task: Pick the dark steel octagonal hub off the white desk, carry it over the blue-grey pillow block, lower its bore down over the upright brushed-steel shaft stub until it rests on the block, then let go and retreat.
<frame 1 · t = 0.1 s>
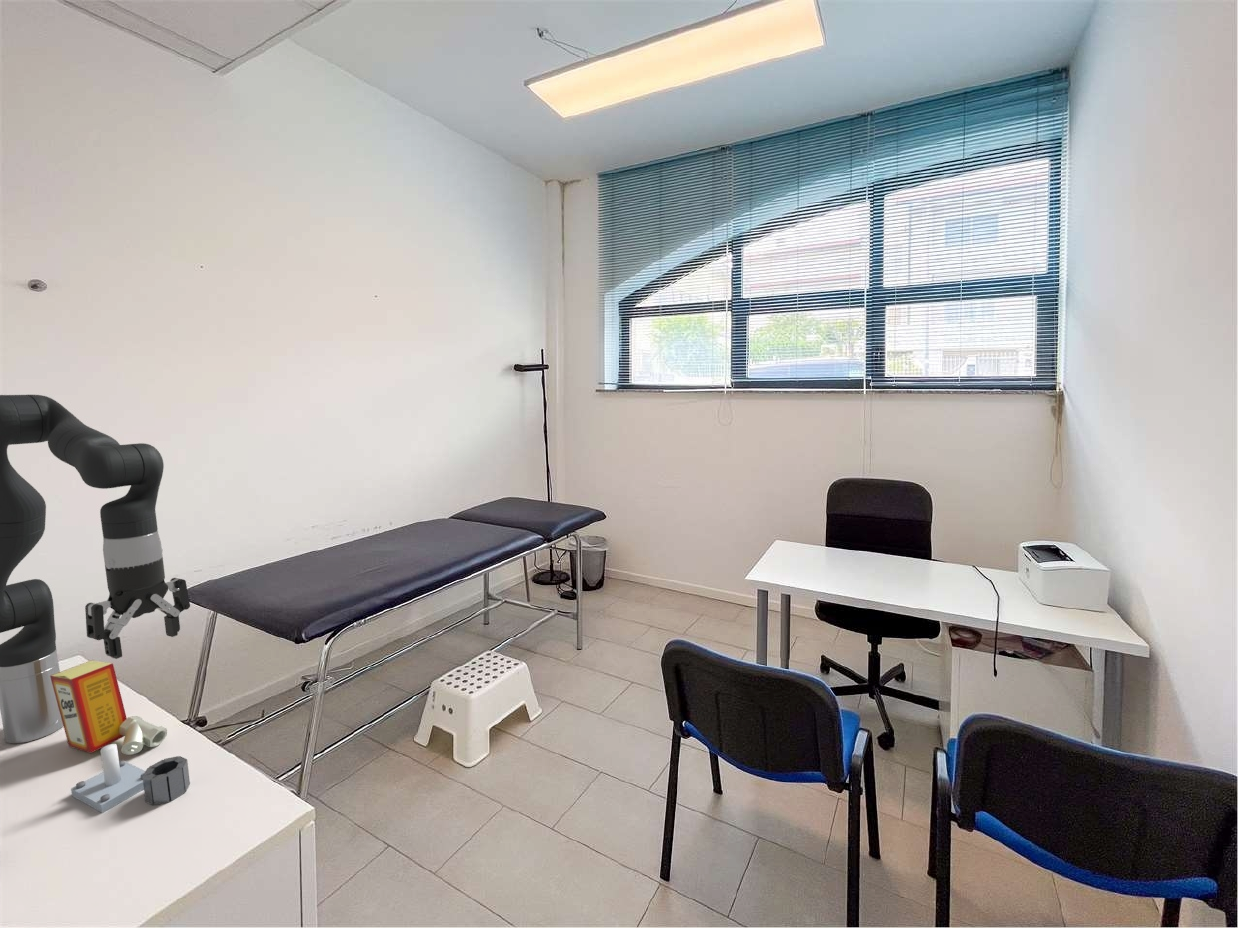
hand: (145, 645, 96), 29 cm above the table, fingers open, 8 cm apart
pipe fitting: (134, 744, 112), point 1 cm above the table, touching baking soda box
pillow block: (114, 788, 101), on the table
hub: (168, 791, 100), on the table
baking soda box: (100, 740, 113), point 1 cm above the table, touching pipe fitting
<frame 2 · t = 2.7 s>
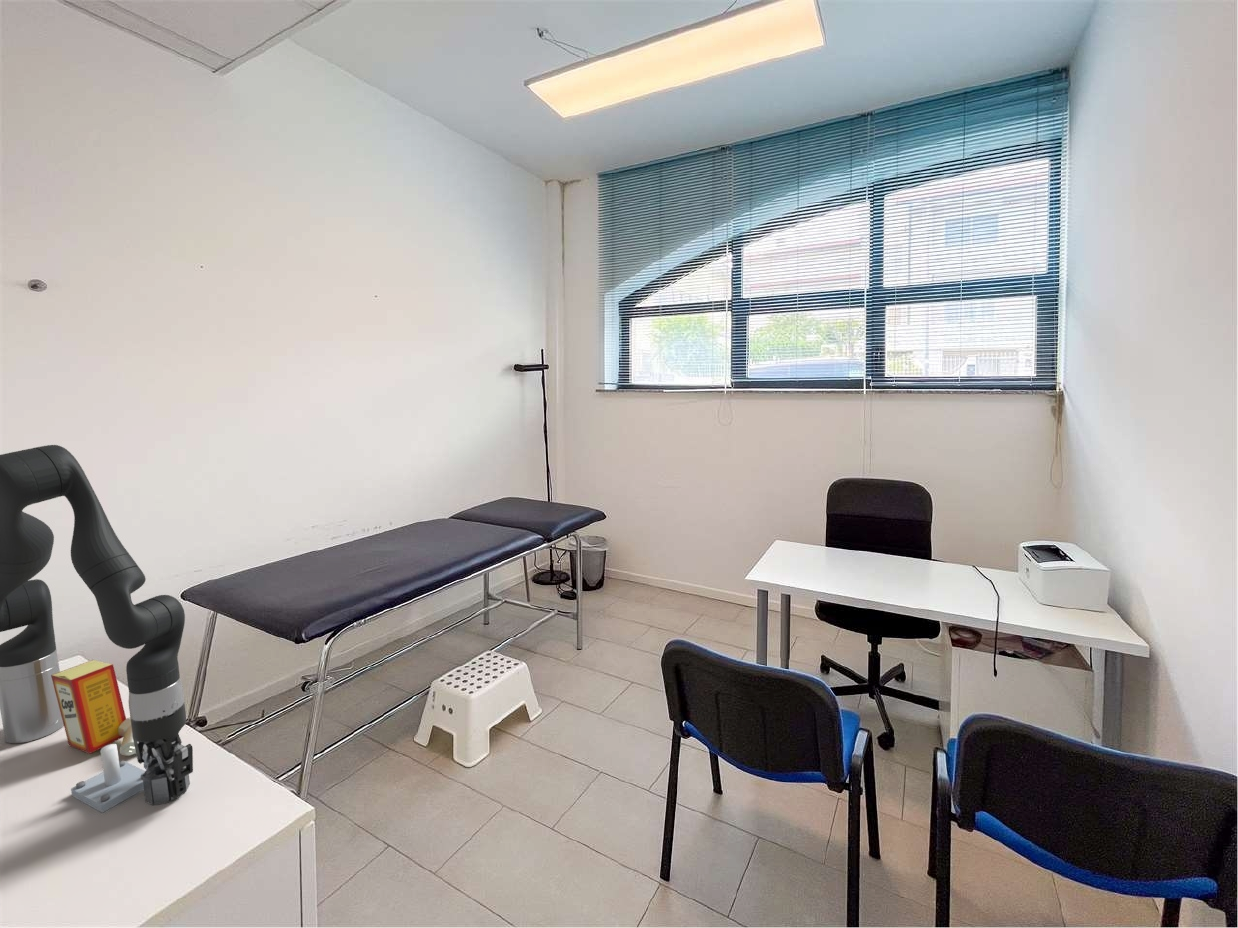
hand: (167, 789, 100), 1 cm above the table, fingers closed on hub, 6 cm apart
hub: (168, 791, 100), on the table, touching gripper
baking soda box: (99, 740, 113), point 1 cm above the table, touching pipe fitting
everything else where it was.
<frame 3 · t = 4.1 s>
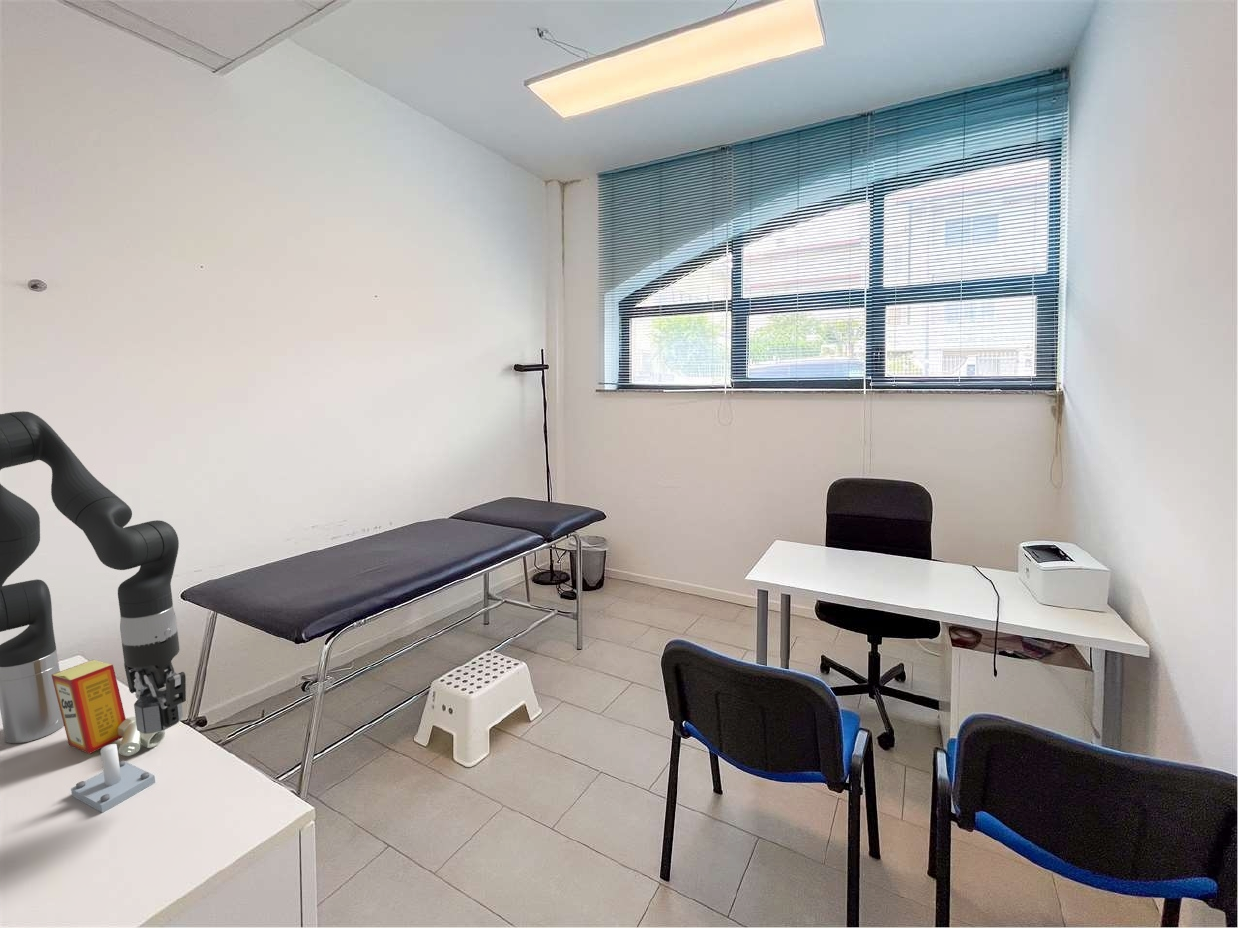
hand: (160, 719, 98), 15 cm above the table, fingers closed on hub, 6 cm apart
hub: (160, 722, 98), point 14 cm above the table, touching gripper
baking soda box: (99, 740, 113), point 1 cm above the table, touching pipe fitting
everything else where it was.
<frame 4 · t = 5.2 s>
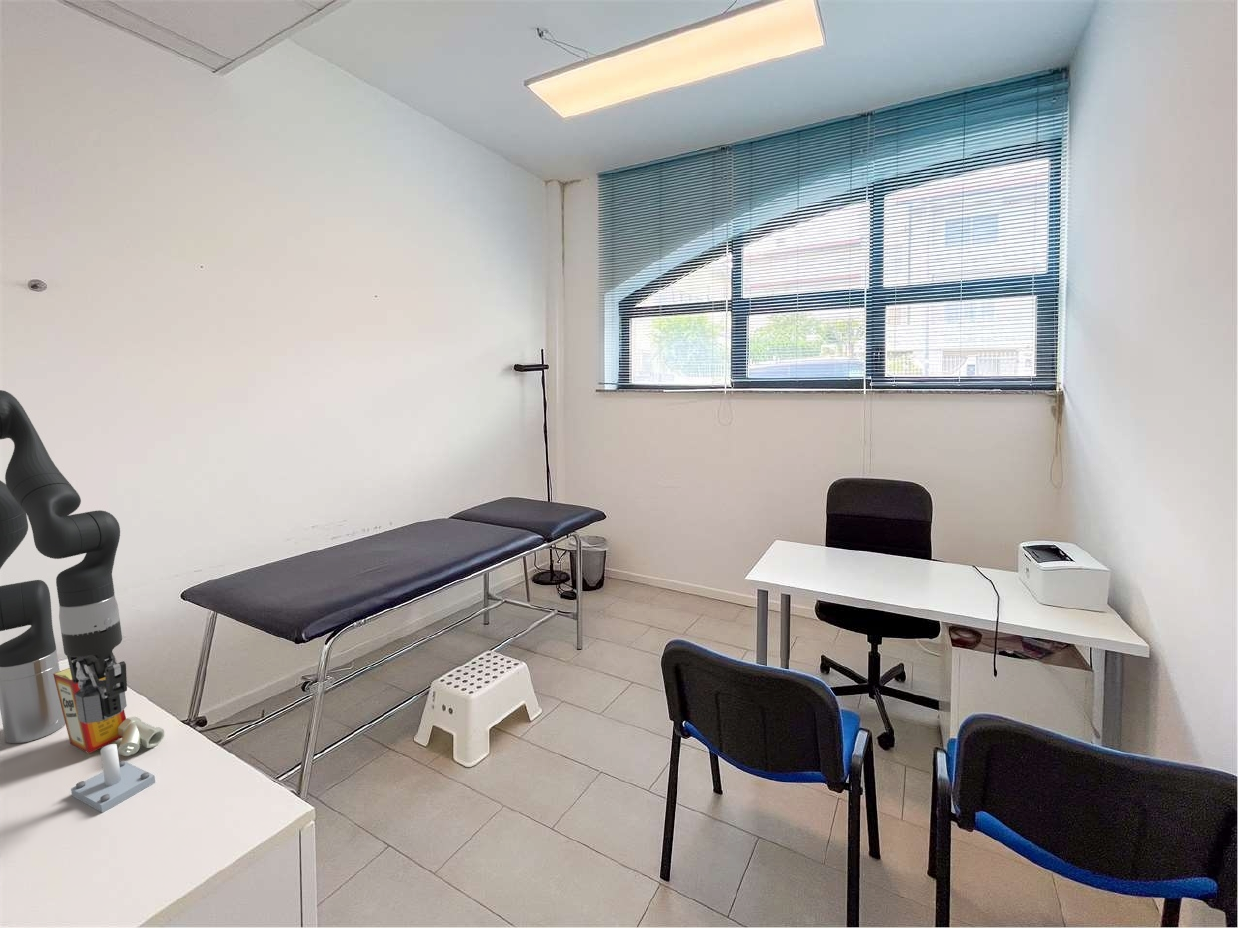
hand: (102, 709, 98), 16 cm above the table, fingers closed on hub, 6 cm apart
pipe fitting: (132, 745, 112), point 1 cm above the table, touching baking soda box
hub: (103, 712, 99), point 16 cm above the table, touching gripper
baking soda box: (100, 739, 114), on the table, touching pipe fitting
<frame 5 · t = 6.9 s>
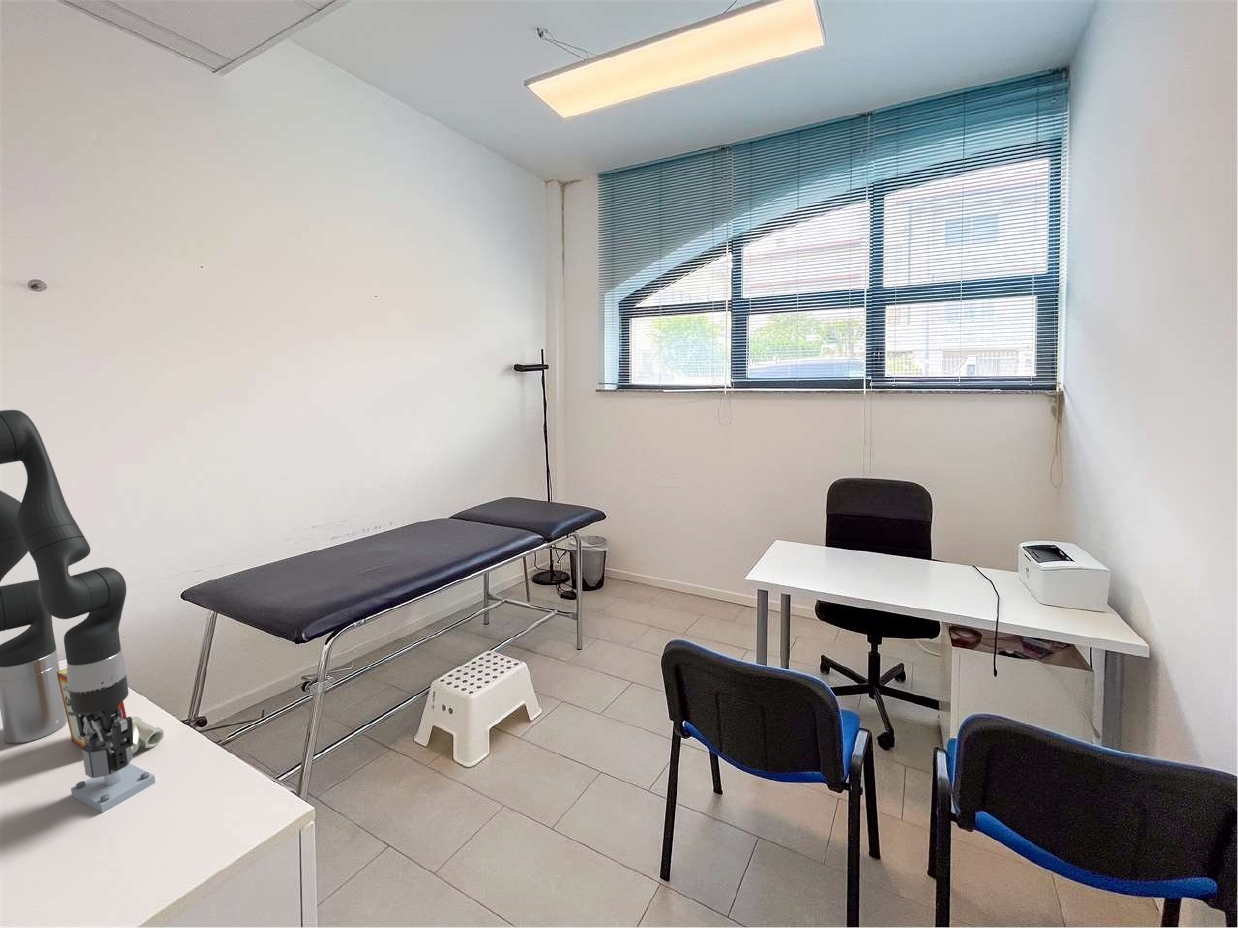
hand: (109, 762, 100), 6 cm above the table, fingers closed on hub, 6 cm apart
pipe fitting: (132, 745, 112), point 1 cm above the table, touching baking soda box
hub: (109, 765, 100), point 5 cm above the table, touching gripper
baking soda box: (101, 738, 114), on the table, touching pipe fitting
when the fingers open (3 cm above the table, at t = 8.0 s): hub stays where it is, resting on pillow block.
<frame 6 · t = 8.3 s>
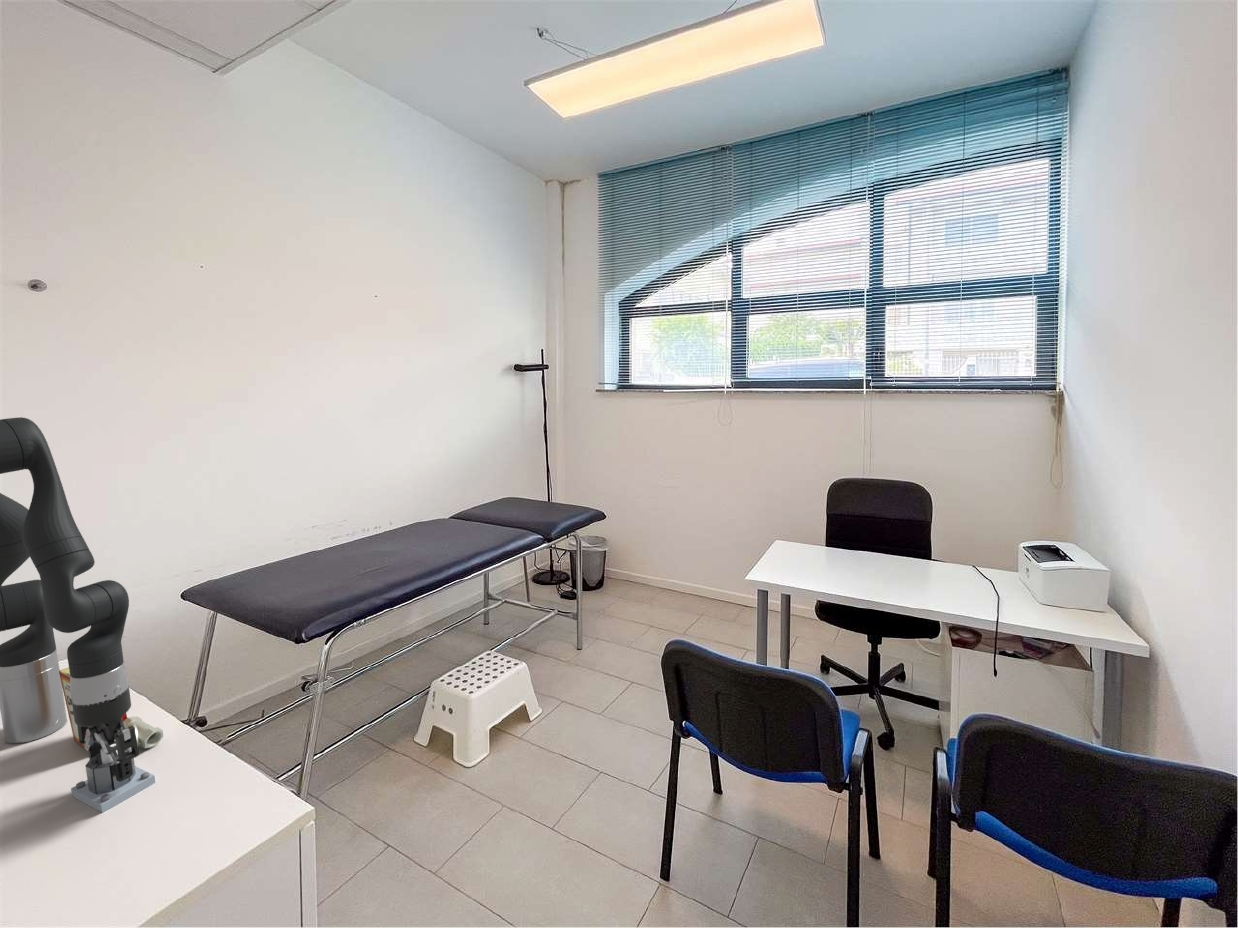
hand: (111, 771, 100), 4 cm above the table, fingers open, 8 cm apart
hub: (112, 781, 101), point 1 cm above the table, touching pillow block
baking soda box: (102, 737, 114), on the table, touching pipe fitting
everything else where it was.
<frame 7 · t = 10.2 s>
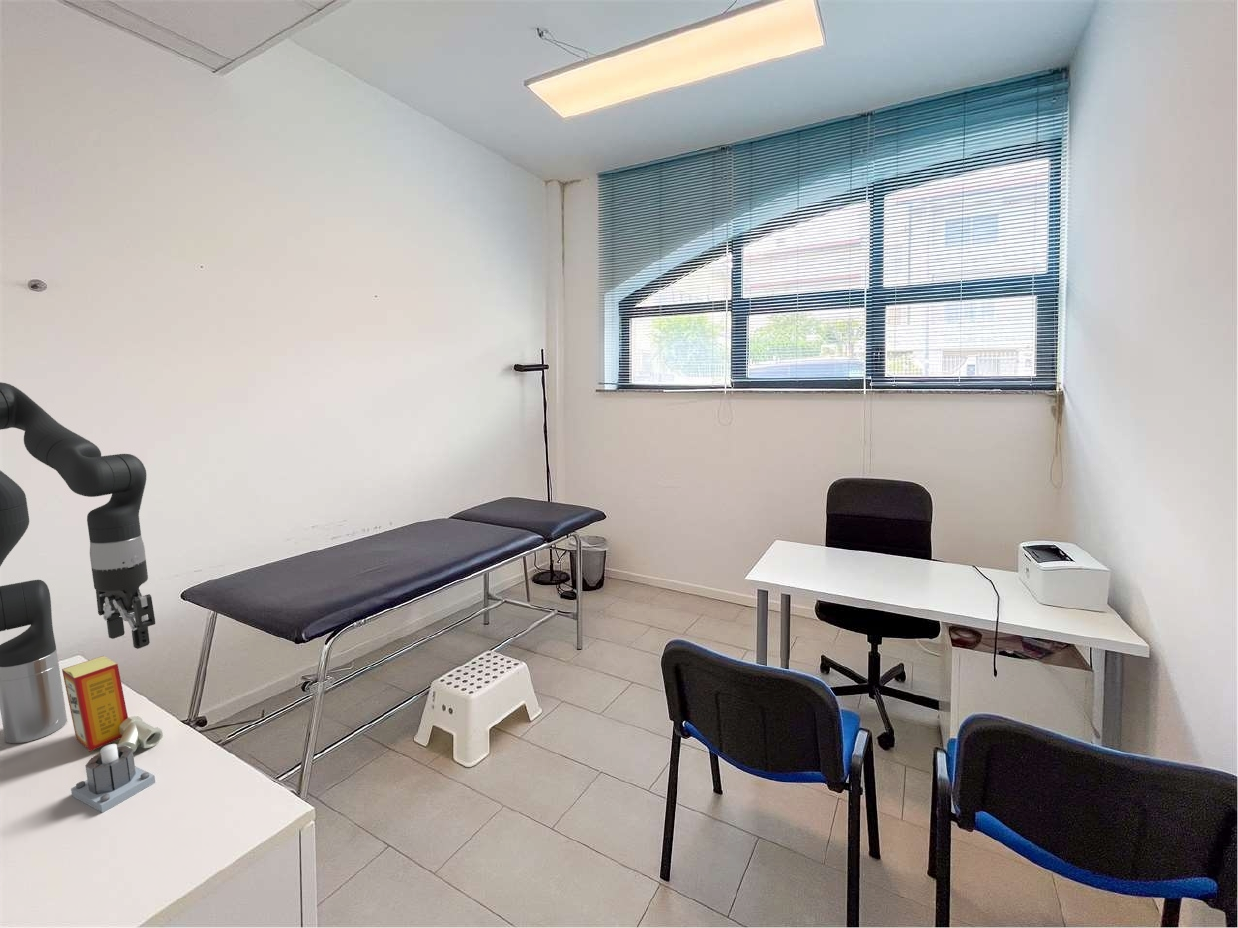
hand: (129, 641, 103), 26 cm above the table, fingers open, 8 cm apart
pipe fitting: (131, 745, 112), on the table, touching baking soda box
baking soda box: (103, 736, 115), on the table, touching pipe fitting
everything else where it was.
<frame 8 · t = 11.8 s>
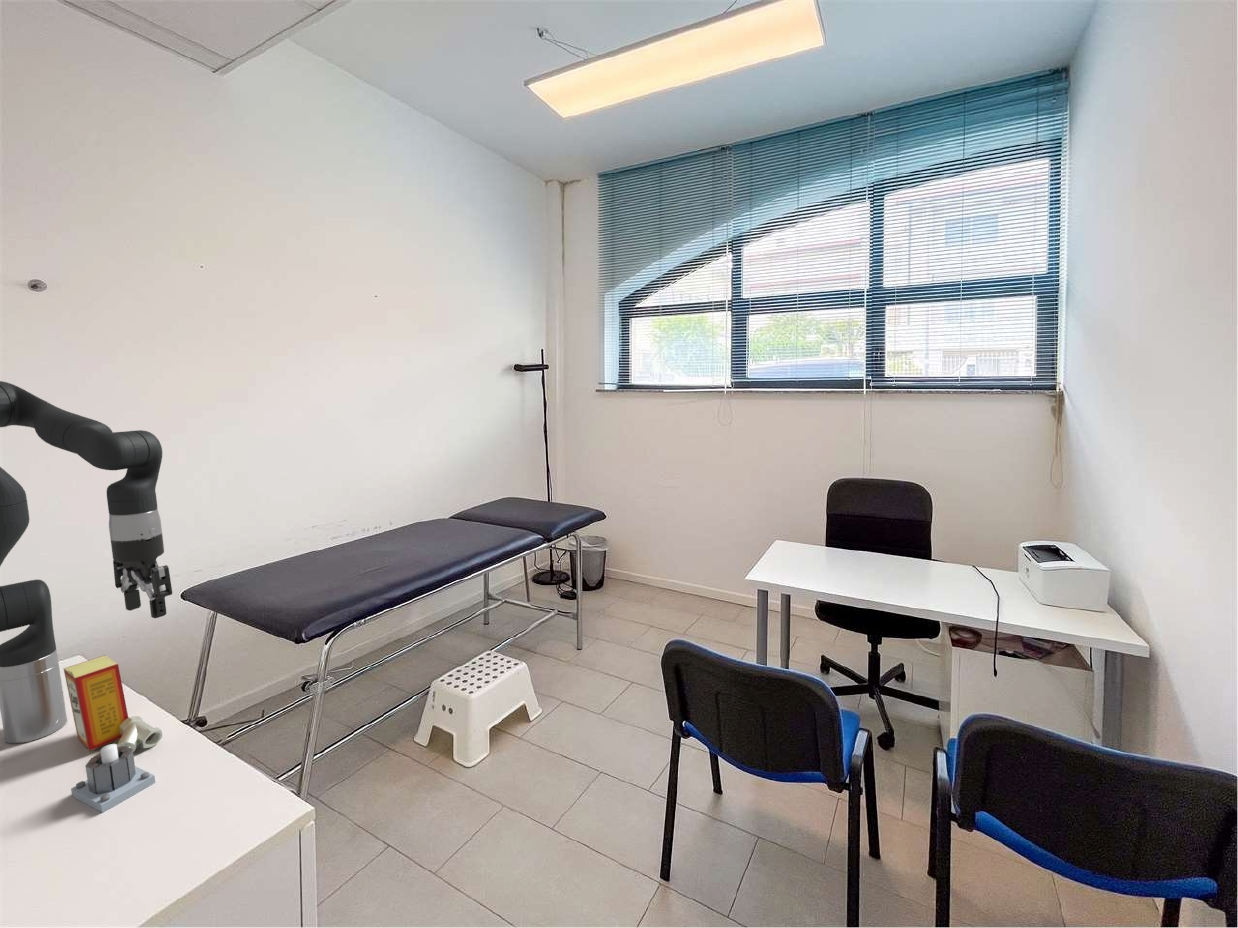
hand: (146, 612, 107), 30 cm above the table, fingers open, 8 cm apart
pipe fitting: (131, 745, 112), on the table, touching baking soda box
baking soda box: (104, 736, 115), on the table, touching pipe fitting
everything else where it was.
at the end: hub 0.1 cm off-centre on the pillow block, point 1.5 cm above the pillow block's base; hub tilted 0°; the gripper is holding nothing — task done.
